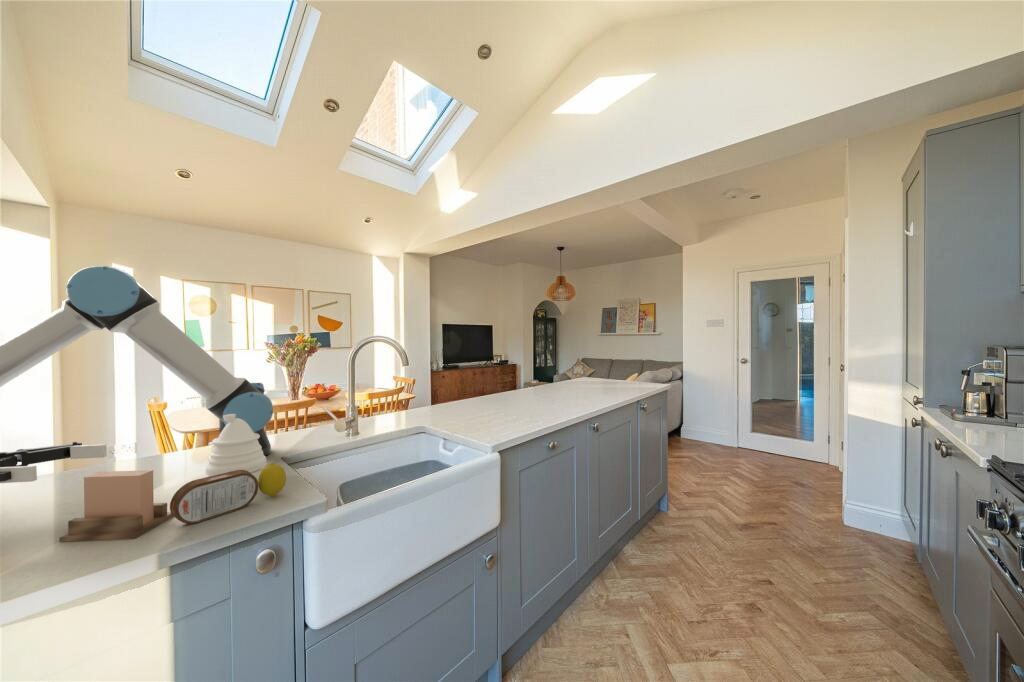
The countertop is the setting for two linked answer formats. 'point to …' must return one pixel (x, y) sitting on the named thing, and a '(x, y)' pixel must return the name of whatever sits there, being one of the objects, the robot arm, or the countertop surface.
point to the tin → (213, 496)
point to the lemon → (272, 479)
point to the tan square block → (119, 494)
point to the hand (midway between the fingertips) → (73, 461)
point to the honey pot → (236, 449)
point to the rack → (114, 526)
